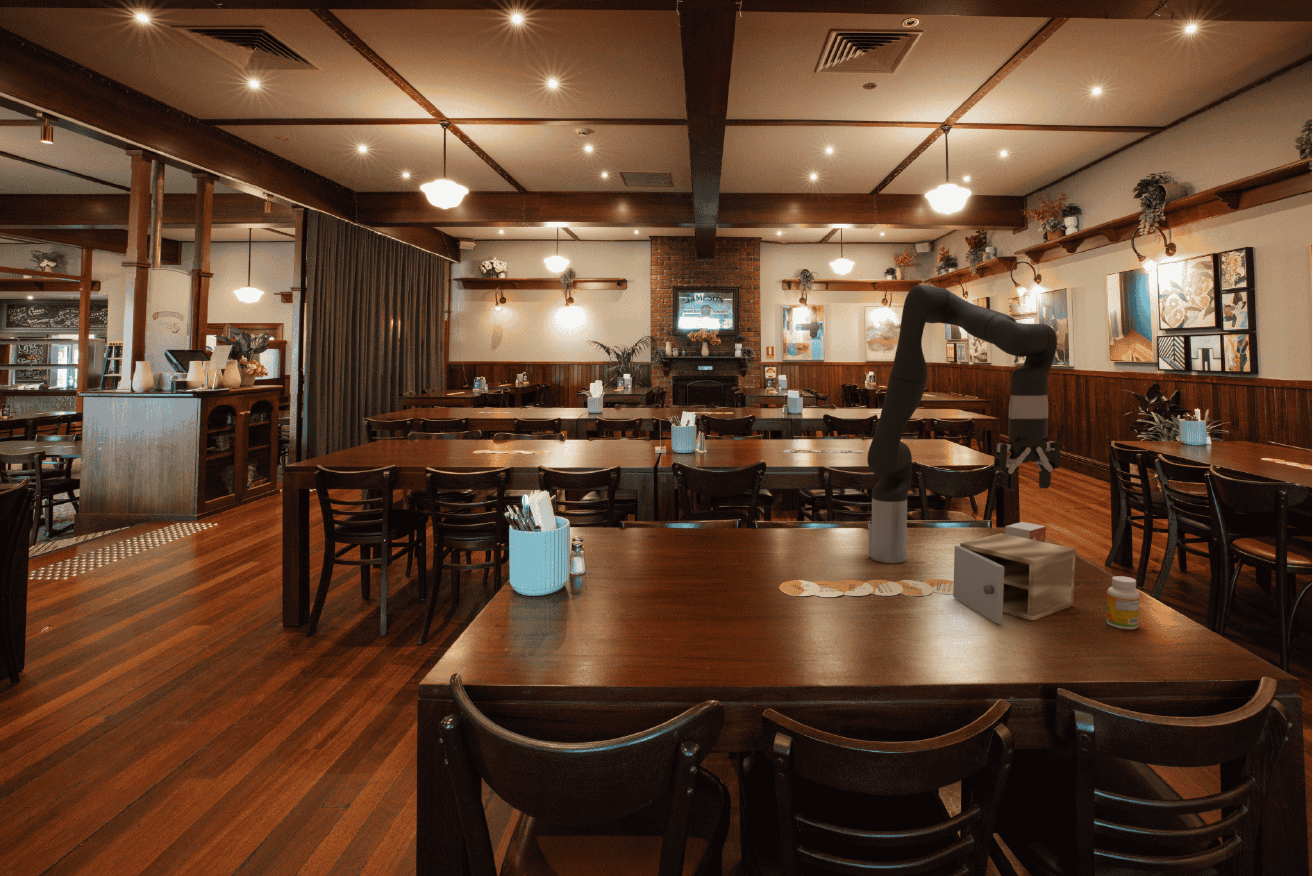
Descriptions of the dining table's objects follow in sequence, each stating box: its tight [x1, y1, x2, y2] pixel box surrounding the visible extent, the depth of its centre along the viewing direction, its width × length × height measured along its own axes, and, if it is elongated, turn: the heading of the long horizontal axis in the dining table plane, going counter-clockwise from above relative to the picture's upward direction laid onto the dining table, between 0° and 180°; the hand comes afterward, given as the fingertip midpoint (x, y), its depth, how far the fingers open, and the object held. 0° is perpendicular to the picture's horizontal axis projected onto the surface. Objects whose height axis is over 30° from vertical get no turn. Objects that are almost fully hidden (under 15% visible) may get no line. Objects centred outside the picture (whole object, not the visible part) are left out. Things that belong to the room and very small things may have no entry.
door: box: [952, 545, 1004, 625], centre depth 143 cm, size 16×2×12 cm, turn 6°
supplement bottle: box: [1105, 575, 1141, 630], centre depth 134 cm, size 5×5×10 cm
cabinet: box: [959, 532, 1077, 621], centre depth 148 cm, size 17×16×13 cm
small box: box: [1004, 521, 1047, 543], centre depth 166 cm, size 8×6×13 cm
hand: (1026, 489), depth 145 cm, fingers open, 8 cm apart
